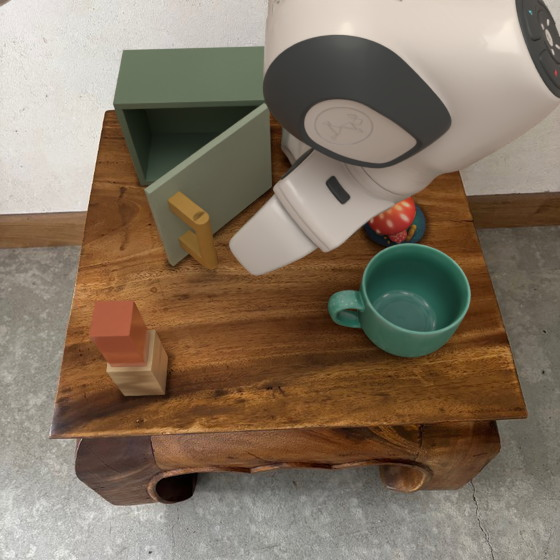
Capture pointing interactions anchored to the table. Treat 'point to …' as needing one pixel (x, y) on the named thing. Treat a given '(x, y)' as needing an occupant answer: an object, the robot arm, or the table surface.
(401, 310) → the mug
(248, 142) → the door
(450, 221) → the table surface
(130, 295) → the table surface
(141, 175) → the cupboard
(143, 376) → the stand
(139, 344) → the block
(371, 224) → the figurine
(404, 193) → the robot arm
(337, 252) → the table surface
